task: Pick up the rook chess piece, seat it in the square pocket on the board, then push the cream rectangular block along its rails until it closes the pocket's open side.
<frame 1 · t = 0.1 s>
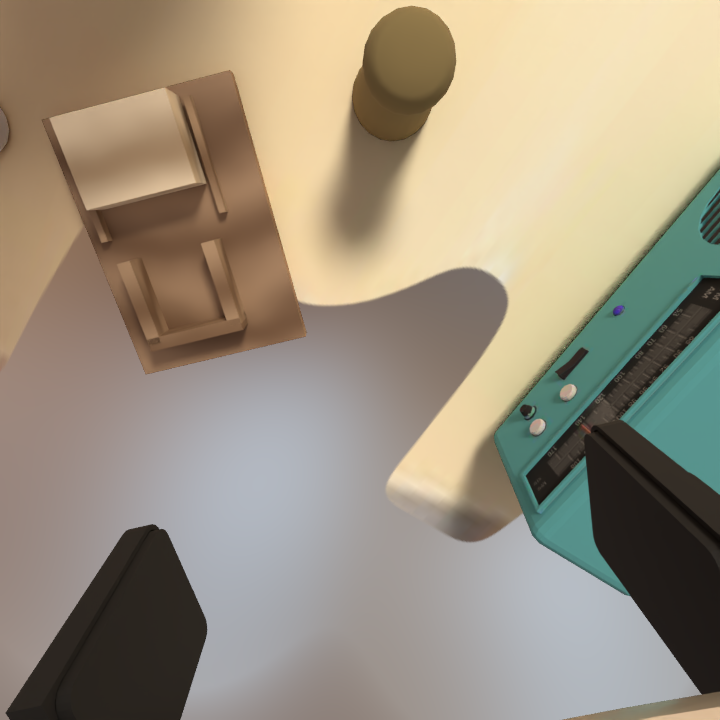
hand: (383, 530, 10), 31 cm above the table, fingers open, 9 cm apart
cork: (392, 97, 36), on the table
cream rectangular block: (132, 152, 34), point 3 cm above the table, slide at 0.0 cm
radio: (632, 311, 42), on the table
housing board: (188, 235, 38), on the table
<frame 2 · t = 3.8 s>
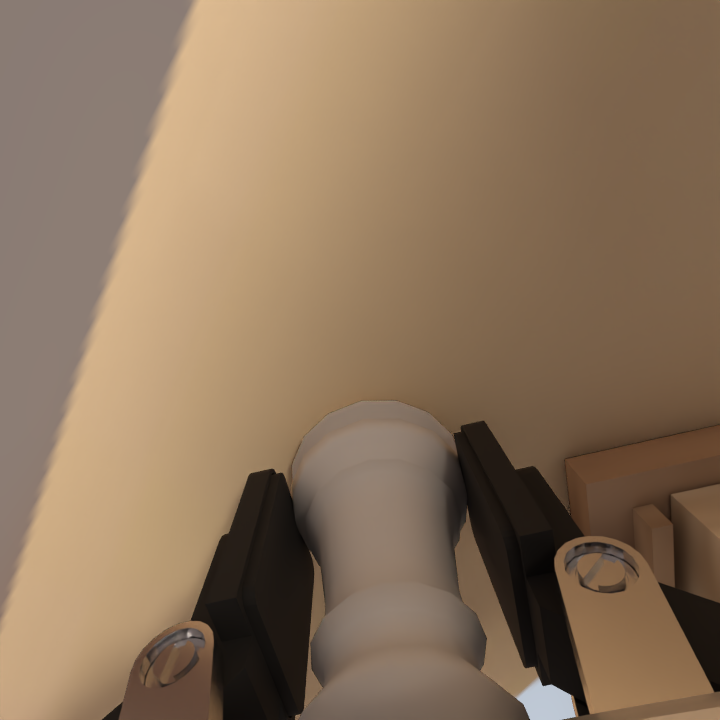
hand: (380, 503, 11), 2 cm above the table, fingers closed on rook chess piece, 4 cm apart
rook chess piece: (375, 464, 13), on the table, touching gripper
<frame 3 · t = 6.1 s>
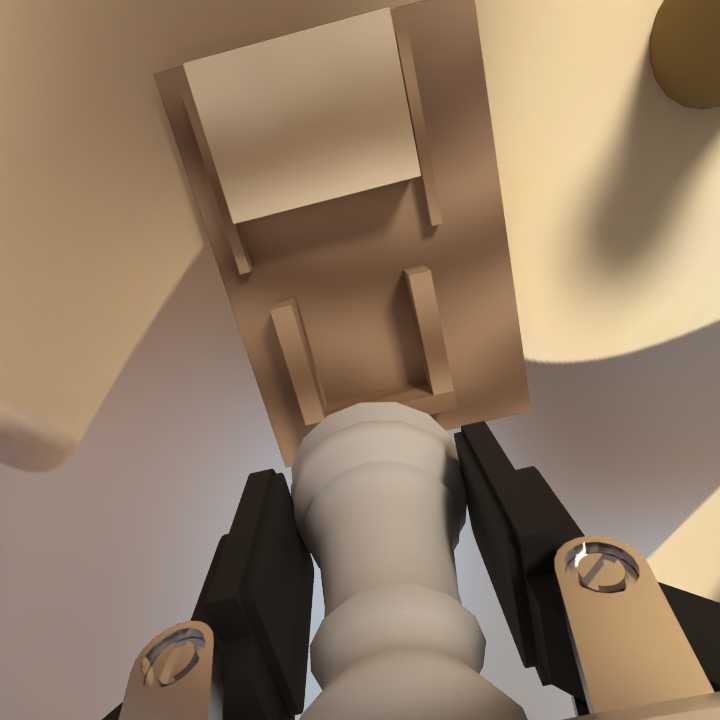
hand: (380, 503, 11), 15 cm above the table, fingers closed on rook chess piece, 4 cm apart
cork: (712, 36, 22), on the table
rook chess piece: (375, 466, 13), point 14 cm above the table, touching gripper
cream rectangular block: (309, 126, 20), point 3 cm above the table, slide at 0.0 cm
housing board: (364, 259, 25), on the table
when the fingers open (4 cm above the table, at t = 8.5 s): rook chess piece drops 1 cm, resting on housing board.
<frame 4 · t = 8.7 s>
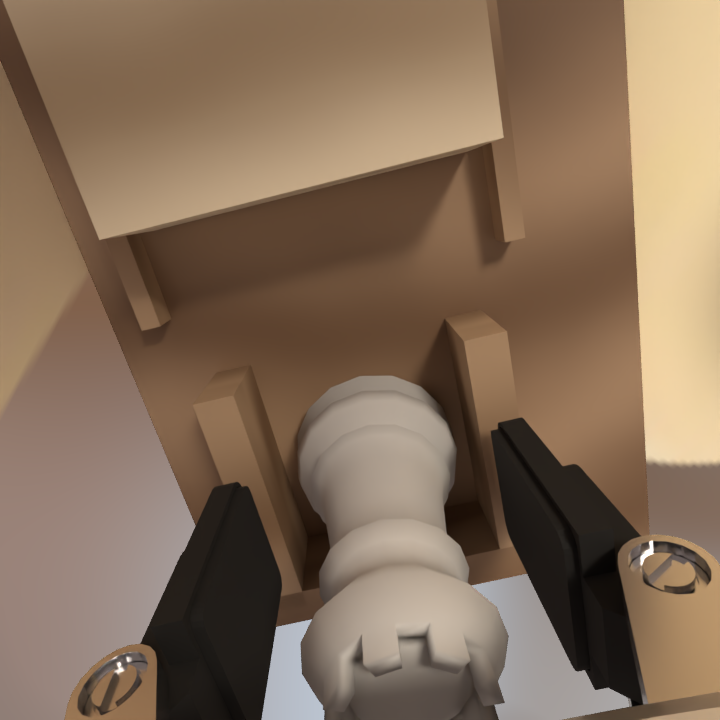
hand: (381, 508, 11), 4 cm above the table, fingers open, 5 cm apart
rook chess piece: (373, 436, 14), point 1 cm above the table, touching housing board
cream rectangular block: (263, 35, 10), point 3 cm above the table, slide at 0.0 cm
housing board: (373, 298, 14), on the table
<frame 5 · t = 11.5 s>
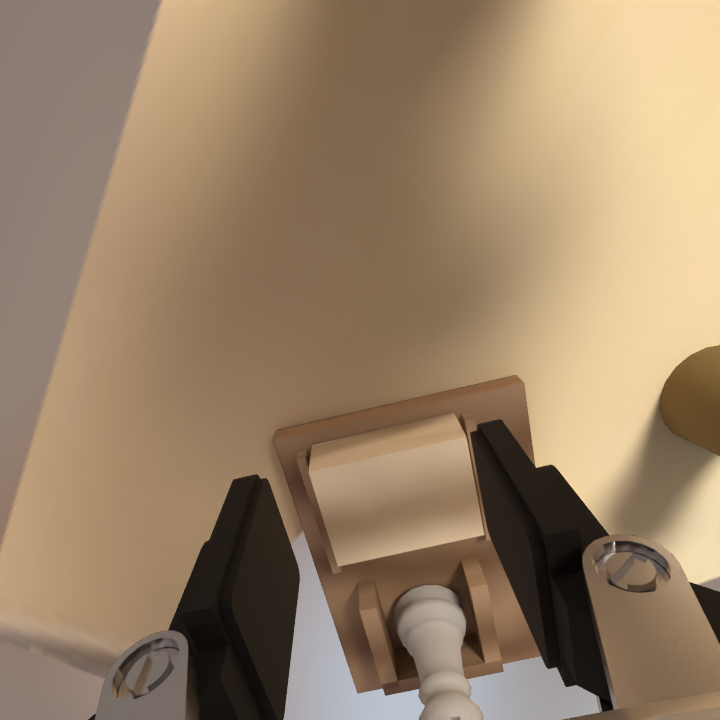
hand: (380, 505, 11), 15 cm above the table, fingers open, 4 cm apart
cork: (709, 393, 28), on the table
rook chess piece: (427, 604, 31), point 1 cm above the table, touching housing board
cream rectangular block: (396, 489, 26), point 3 cm above the table, slide at 0.0 cm
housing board: (427, 543, 30), on the table
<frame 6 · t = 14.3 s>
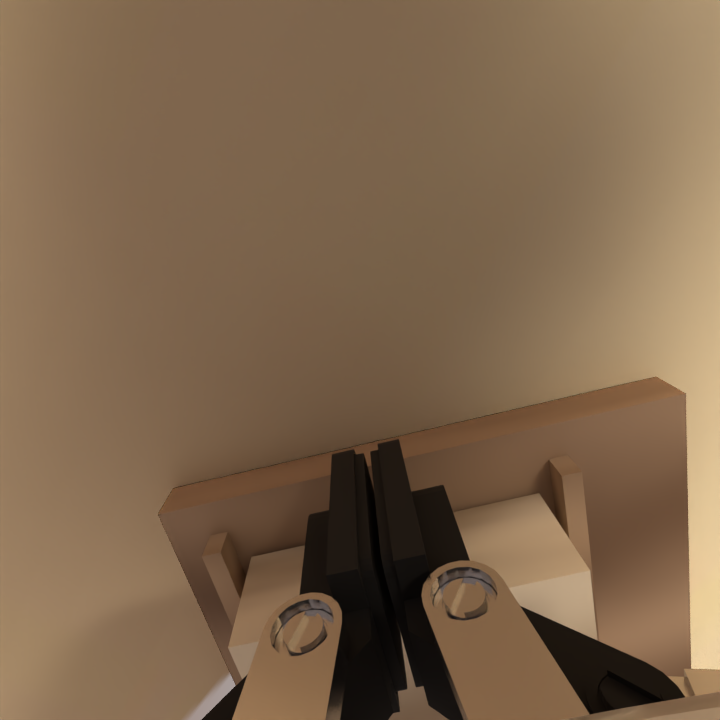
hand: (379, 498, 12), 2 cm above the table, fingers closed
cream rectangular block: (422, 651, 13), point 3 cm above the table, slide at 1.2 cm, touching gripper
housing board: (466, 681, 17), on the table
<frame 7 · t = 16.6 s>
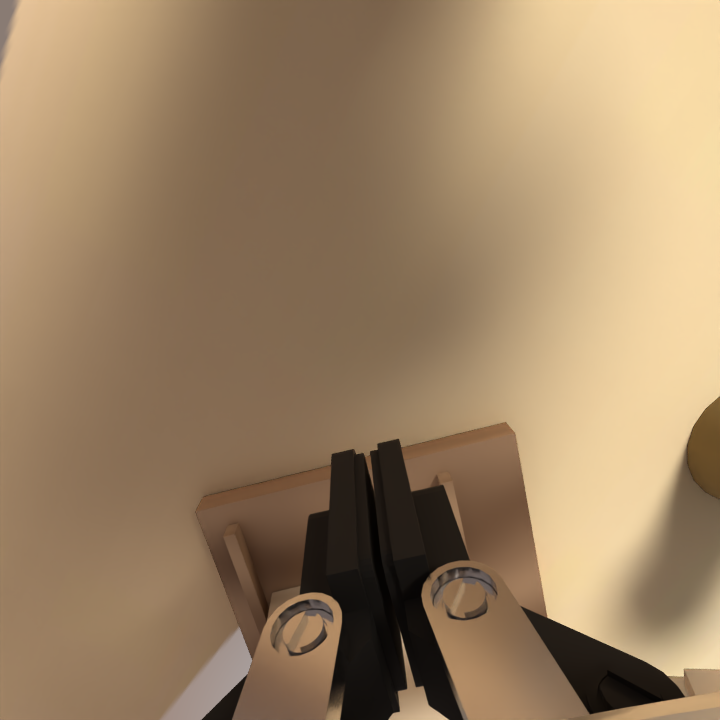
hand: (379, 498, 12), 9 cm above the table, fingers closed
cream rectangular block: (376, 650, 21), point 3 cm above the table, slide at 4.0 cm, touching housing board
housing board: (401, 635, 24), on the table
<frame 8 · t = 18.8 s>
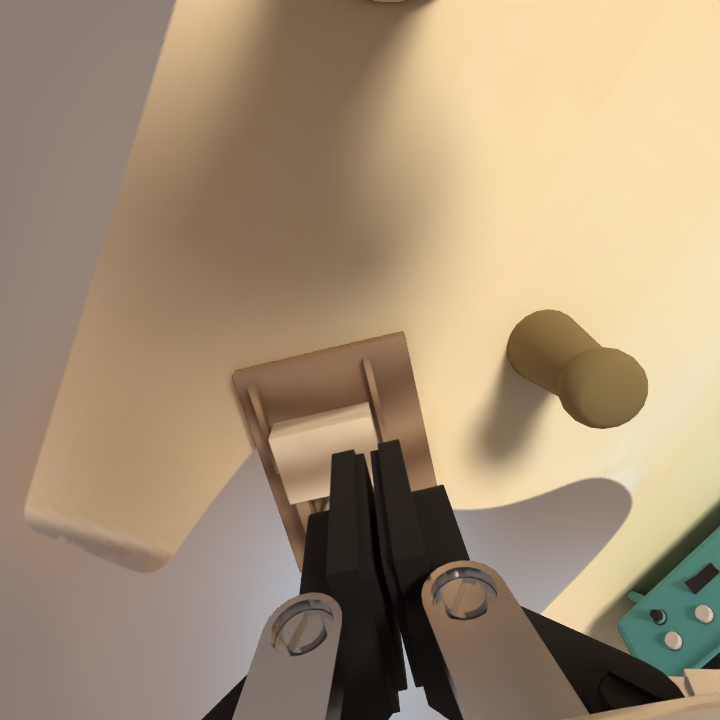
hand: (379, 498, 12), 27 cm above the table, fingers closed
cork: (542, 345, 39), on the table
cream rectangular block: (329, 452, 39), point 3 cm above the table, slide at 4.0 cm, touching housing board
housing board: (347, 456, 42), on the table
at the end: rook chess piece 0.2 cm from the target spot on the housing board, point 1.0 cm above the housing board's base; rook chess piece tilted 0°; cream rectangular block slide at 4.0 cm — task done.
